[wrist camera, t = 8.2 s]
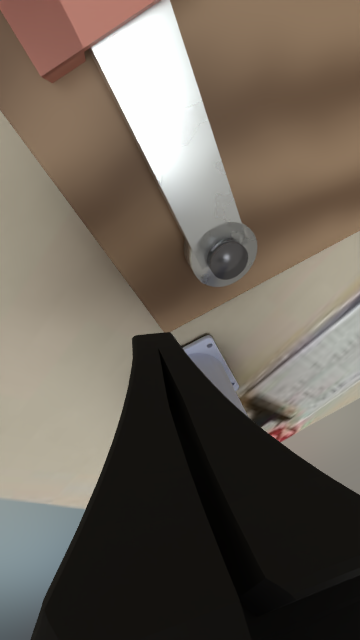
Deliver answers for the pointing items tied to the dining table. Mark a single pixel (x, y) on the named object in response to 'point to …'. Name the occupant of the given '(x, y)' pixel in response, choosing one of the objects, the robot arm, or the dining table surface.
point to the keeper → (66, 28)
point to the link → (176, 141)
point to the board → (230, 136)
